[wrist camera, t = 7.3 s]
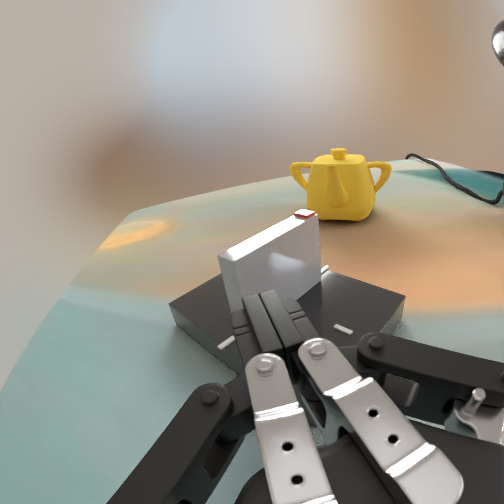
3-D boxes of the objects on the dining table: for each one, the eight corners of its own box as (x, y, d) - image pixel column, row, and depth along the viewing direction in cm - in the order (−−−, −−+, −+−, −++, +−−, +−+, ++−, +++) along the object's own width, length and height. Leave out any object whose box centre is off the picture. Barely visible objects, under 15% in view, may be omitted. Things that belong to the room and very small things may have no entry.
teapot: (401, 218, 39) (402, 150, 35) (333, 239, 36) (329, 160, 32) (350, 196, 51) (346, 141, 47) (289, 210, 48) (281, 150, 44)
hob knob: (249, 337, 19) (232, 258, 17) (234, 327, 21) (216, 251, 18) (321, 280, 24) (318, 211, 21) (306, 274, 25) (301, 207, 23)
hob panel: (173, 326, 26) (164, 303, 24) (268, 267, 33) (265, 246, 31) (312, 431, 14) (313, 411, 13) (402, 317, 22) (407, 291, 20)
